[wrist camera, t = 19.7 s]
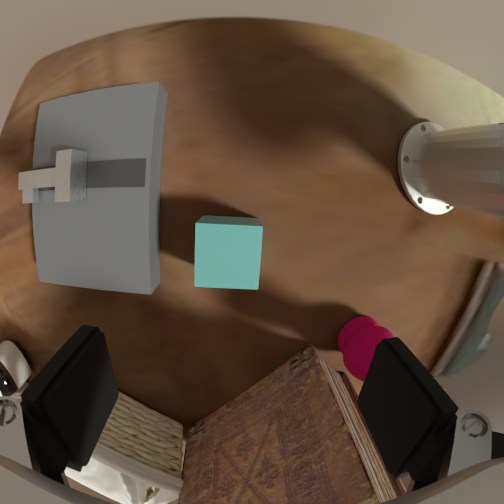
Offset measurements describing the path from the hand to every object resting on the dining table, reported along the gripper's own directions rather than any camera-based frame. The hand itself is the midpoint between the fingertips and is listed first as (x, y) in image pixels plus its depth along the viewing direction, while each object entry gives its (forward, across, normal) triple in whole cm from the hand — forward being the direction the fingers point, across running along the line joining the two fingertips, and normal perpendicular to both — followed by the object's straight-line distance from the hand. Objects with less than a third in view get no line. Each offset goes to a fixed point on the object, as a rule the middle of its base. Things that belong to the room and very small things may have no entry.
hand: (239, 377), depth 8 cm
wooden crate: (+23, -4, +26) cm, 35 cm away
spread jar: (+22, +42, +26) cm, 54 cm away
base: (+23, +17, -5) cm, 29 cm away
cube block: (+23, +1, +1) cm, 23 cm away
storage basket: (+23, +21, +32) cm, 44 cm away
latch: (+19, +22, -7) cm, 30 cm away
